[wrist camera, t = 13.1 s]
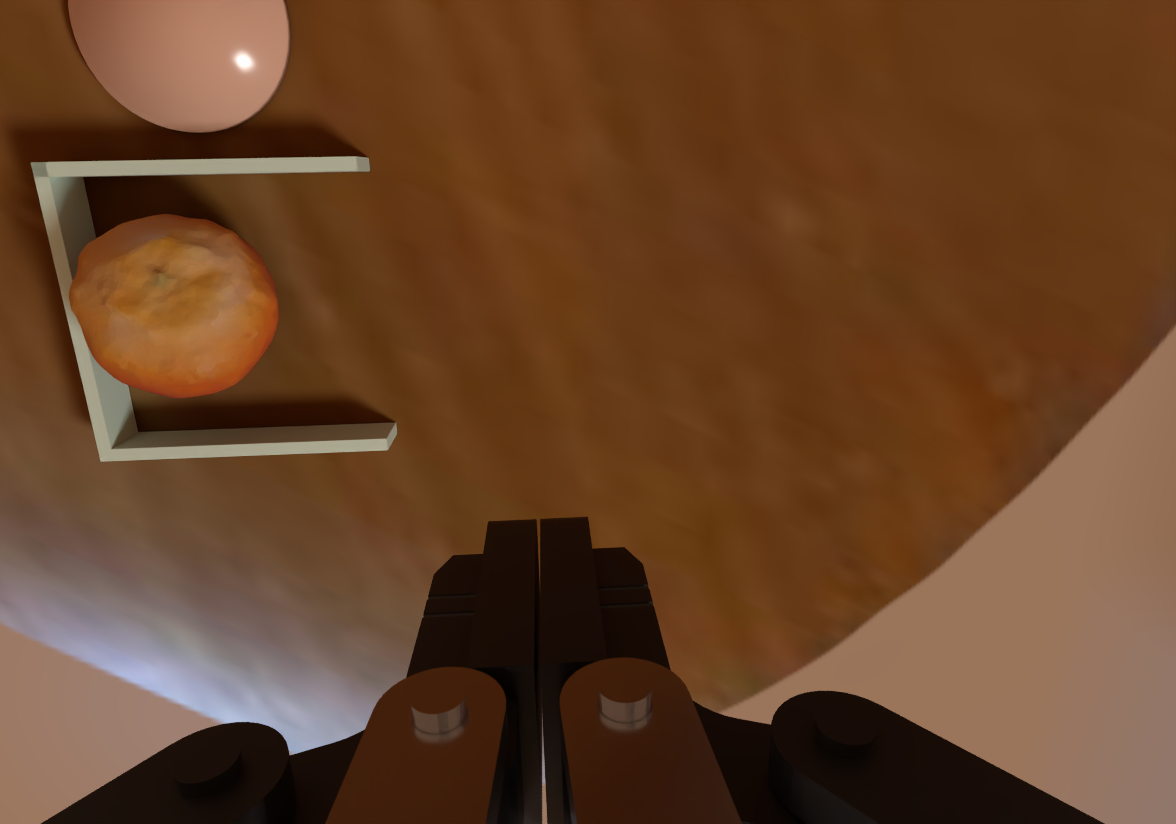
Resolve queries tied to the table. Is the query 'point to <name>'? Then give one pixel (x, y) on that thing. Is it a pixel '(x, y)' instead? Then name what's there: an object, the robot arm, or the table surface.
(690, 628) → the table surface
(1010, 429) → the table surface
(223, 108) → the pink shiny oval part
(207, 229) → the fruit
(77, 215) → the pale gray u-shaped frame
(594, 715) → the robot arm
